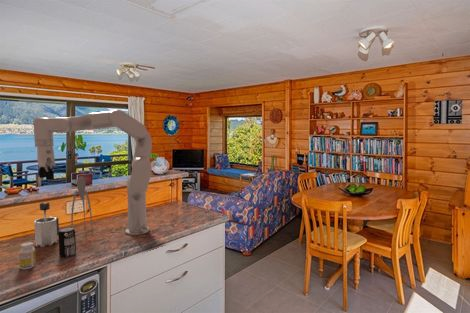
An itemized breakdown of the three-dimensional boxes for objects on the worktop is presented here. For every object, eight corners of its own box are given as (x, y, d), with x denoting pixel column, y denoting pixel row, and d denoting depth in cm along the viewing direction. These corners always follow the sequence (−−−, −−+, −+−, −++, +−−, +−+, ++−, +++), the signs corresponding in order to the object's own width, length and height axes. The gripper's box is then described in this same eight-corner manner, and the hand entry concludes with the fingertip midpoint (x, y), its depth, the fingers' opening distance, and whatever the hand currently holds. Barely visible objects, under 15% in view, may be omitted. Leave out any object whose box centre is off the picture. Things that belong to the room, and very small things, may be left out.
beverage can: (63, 252, 134) (62, 226, 133) (78, 251, 134) (77, 226, 133) (56, 258, 127) (55, 231, 126) (72, 257, 128) (70, 231, 127)
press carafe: (46, 247, 138) (45, 223, 137) (30, 246, 140) (29, 222, 139) (65, 238, 150) (64, 216, 149) (50, 237, 151) (49, 214, 150)
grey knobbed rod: (55, 238, 144) (53, 203, 142) (41, 241, 139) (39, 205, 137) (51, 235, 148) (49, 201, 146) (37, 238, 143) (35, 203, 141)
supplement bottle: (26, 270, 116) (24, 247, 115) (17, 268, 118) (15, 245, 117) (39, 264, 121) (38, 242, 120) (30, 262, 123) (29, 240, 122)
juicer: (85, 231, 160) (83, 178, 157) (71, 230, 162) (69, 177, 159) (98, 225, 170) (96, 175, 167) (84, 224, 172) (82, 174, 169)
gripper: (59, 143, 137) (61, 179, 138) (47, 142, 148) (49, 175, 150) (41, 144, 131) (43, 181, 133) (29, 143, 142) (32, 177, 144)
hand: (46, 178), depth 141 cm, fingers open, 9 cm apart
